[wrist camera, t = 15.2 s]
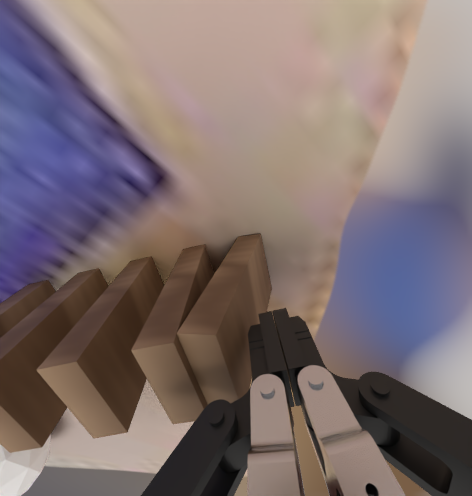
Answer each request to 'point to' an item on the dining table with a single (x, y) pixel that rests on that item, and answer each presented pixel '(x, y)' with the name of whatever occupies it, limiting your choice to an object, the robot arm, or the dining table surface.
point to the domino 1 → (23, 304)
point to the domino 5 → (227, 321)
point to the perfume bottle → (21, 468)
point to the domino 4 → (174, 338)
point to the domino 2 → (39, 363)
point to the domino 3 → (106, 353)
